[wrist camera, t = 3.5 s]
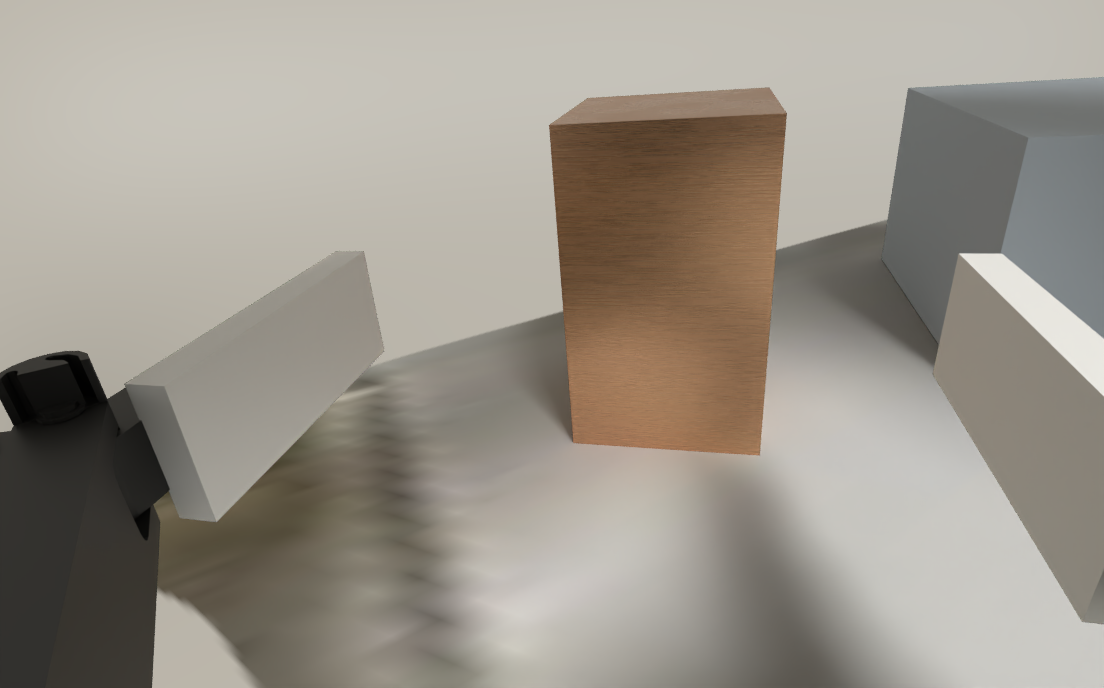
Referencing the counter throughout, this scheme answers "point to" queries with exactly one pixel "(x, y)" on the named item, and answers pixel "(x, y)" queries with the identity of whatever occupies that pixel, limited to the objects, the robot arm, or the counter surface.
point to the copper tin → (668, 265)
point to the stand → (1001, 190)
